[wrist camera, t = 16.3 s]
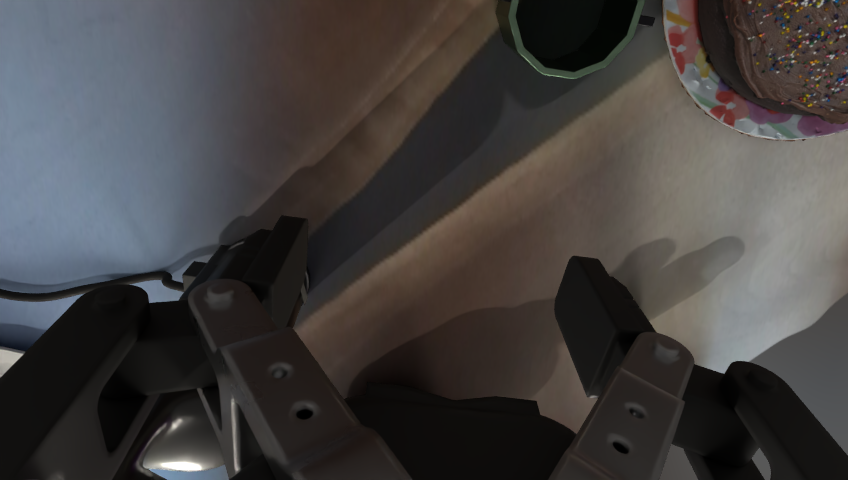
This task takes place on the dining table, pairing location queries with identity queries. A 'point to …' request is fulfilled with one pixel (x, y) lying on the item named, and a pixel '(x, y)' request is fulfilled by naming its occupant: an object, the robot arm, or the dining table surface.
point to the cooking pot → (596, 50)
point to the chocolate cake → (763, 63)
